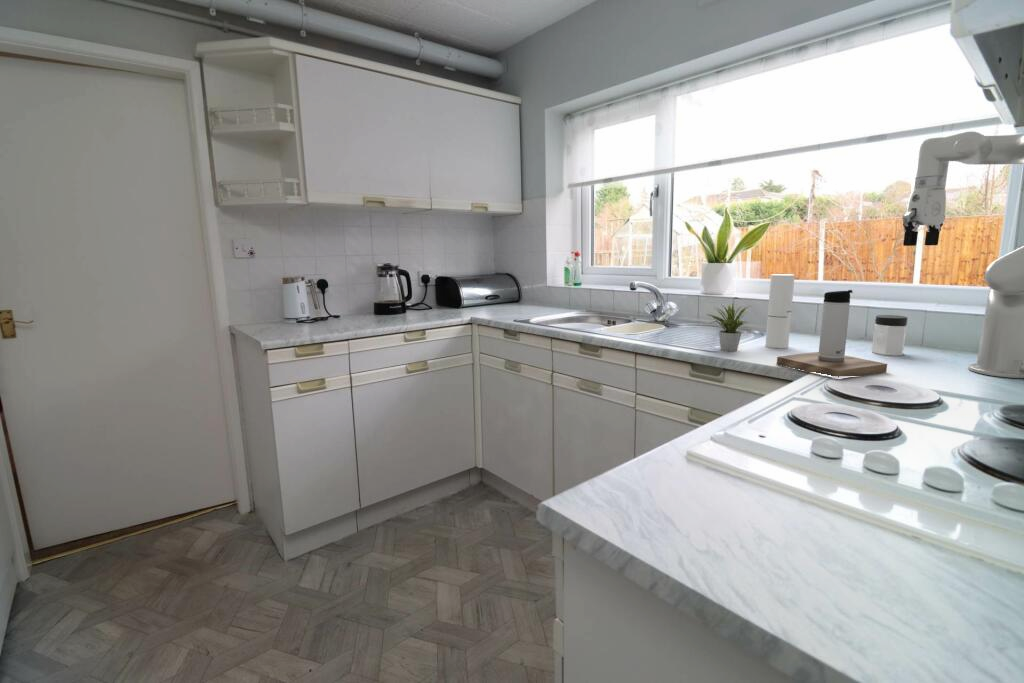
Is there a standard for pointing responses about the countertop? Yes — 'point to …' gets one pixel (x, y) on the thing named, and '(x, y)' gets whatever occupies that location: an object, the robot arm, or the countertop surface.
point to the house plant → (729, 328)
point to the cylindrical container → (779, 310)
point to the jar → (889, 335)
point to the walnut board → (832, 365)
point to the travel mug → (834, 326)
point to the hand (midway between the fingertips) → (920, 245)
